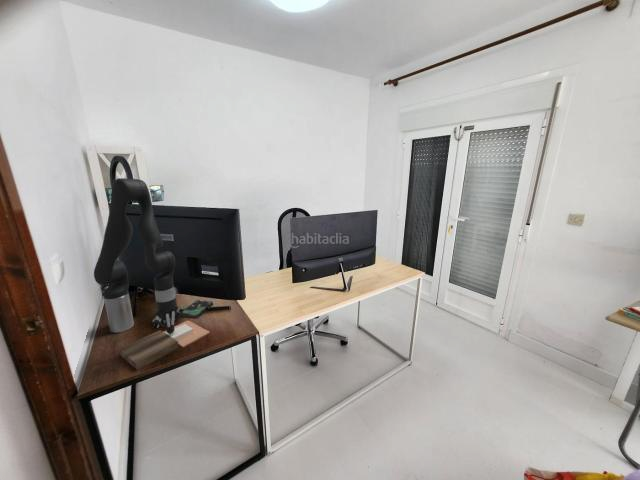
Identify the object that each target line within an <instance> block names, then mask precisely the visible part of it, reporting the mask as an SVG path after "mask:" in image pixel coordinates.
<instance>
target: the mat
mask: <svg viewBox="0 0 640 480" xmlns="http://www.w3.org/2000/svg"><path fill="white" fill-rule="evenodd" d="M184 324H186V325H188V326H189V327H191V328H193V334H191V335H189V336H187V337H185V338H183V339H181V340H179V341H178V345H179V347H180V348H185V347H187V346H189V345H191V344H192V343H195V342H196V341H198V340H199V339H201V338H203V337H205V336H206V335H208V334H210V333H211V332H210V331H209V330H207V329H205V328H203V327H201V326H199V324H196V323H194V322H192V321H191V320H186V321H184V322H183V321H182V322H181V323H179V324H177V325H174V329H175V328H177V327H179V326H181V325H184ZM163 332H164V333H166V330H165V331H163Z"/></svg>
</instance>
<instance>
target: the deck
mask: <svg viewBox="0 0 640 480" xmlns="http://www.w3.org/2000/svg"><path fill="white" fill-rule="evenodd" d="M178 348H180V345H178V341H176V340H175V339H173V338H172V337H170V336H169V335H167V334H165V333H164V331H162V330H161V329H160V330H158V331H155V332H153V333H151V334H149V335H145V337H142V338H140V339H138V340H136V341H133V342H132V343H129V344H126V345H124V346H123V347H120V348H119V355H120V356H121V357H122V358H123V359H124V360H125V361H126V362H127V363H128V364H130V365H131V366H132V367H133V368H134V369H136V371H137V370H140V369H142V368H143V367H146V366H148V365H149V364H151V363H153V362H155V361H157V360H158V359H161V358H162V357H164V356H166V355H167V354H168V355H169V354H170V353H171V352H174V351H175V350H177V349H178Z"/></svg>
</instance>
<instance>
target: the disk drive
mask: <svg viewBox="0 0 640 480" xmlns="http://www.w3.org/2000/svg"><path fill="white" fill-rule="evenodd" d="M211 306H212V307H213V306H214V302H213V301H211V300H210V301H209V300H202V301H201V300H200V299H199V300H198V299H197V300H195V301H194V302H193V303H191V304H190V305H188V306H187V307H186V308H184V309H183V310H184V311H183V313H182V314H181V316H182V317H183V318H191V319H199V318H200V317H201V316H203V314H205V313H206V312H207V311H206V308H208V307H210V308H212V307H211ZM181 316H180V317H181Z"/></svg>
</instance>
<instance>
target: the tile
mask: <svg viewBox="0 0 640 480" xmlns="http://www.w3.org/2000/svg"><path fill="white" fill-rule="evenodd" d="M165 334H167V335H169V336H170V337H172V338H173V339H175V340H176V341H179V340H181V339H183V338H185V337H187V336H189V335H191V334H193V328H191V327H189V326H188V325H186V324H184V325H181V326H179V327H177V328H175V330H174V332H173V333H171V334H169V333H167V332H166V333H165Z"/></svg>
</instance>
